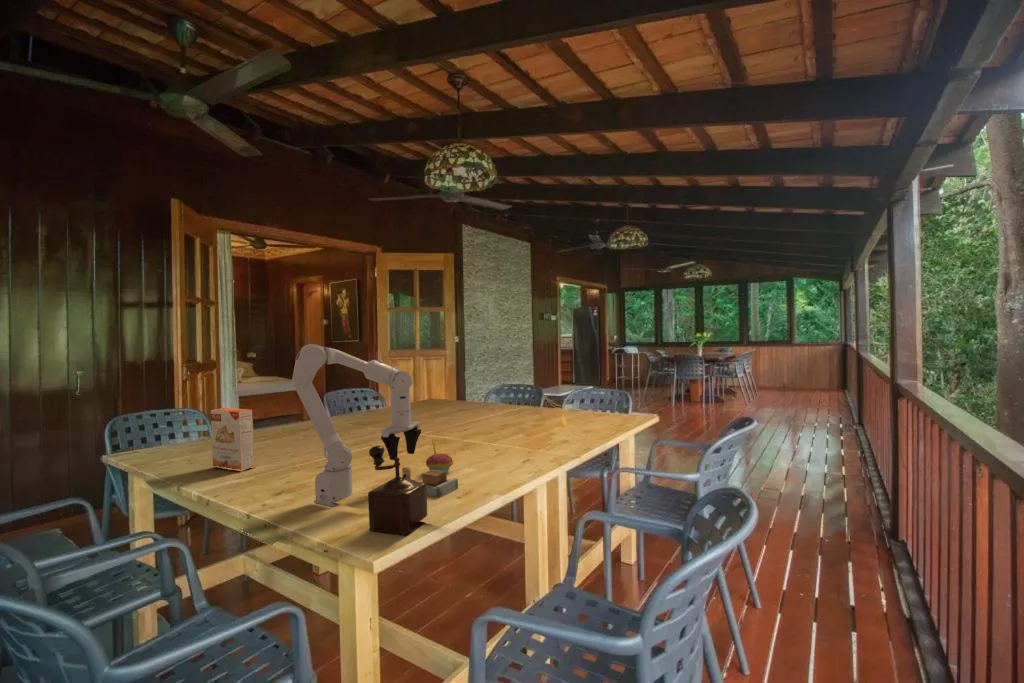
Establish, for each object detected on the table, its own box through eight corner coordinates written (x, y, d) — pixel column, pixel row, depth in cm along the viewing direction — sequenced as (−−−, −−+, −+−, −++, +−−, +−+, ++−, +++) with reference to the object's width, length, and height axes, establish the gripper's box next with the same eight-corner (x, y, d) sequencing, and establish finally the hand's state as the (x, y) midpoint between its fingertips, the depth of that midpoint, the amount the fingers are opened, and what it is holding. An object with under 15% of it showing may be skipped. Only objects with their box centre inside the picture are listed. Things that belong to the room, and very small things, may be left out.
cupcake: (427, 481, 154) (426, 442, 154) (425, 473, 162) (424, 437, 162) (455, 478, 156) (454, 440, 156) (451, 471, 164) (450, 435, 164)
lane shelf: (435, 503, 134) (435, 488, 133) (386, 494, 142) (385, 480, 142) (461, 490, 144) (461, 476, 144) (413, 482, 153) (413, 469, 153)
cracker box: (211, 469, 174) (209, 409, 174) (227, 464, 180) (225, 407, 179) (240, 472, 169) (237, 411, 168) (255, 468, 174) (253, 408, 174)
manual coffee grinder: (430, 518, 123) (428, 446, 122) (407, 536, 112) (404, 457, 112) (376, 512, 128) (374, 443, 128) (349, 529, 117) (347, 453, 117)
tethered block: (437, 493, 138) (436, 475, 138) (398, 486, 145) (397, 469, 145) (446, 489, 142) (446, 471, 142) (408, 482, 149) (408, 465, 149)
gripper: (394, 415, 138) (395, 464, 139) (427, 407, 151) (428, 452, 151) (375, 414, 142) (377, 461, 142) (409, 406, 155) (410, 450, 155)
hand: (402, 456), depth 147 cm, fingers open, 7 cm apart
